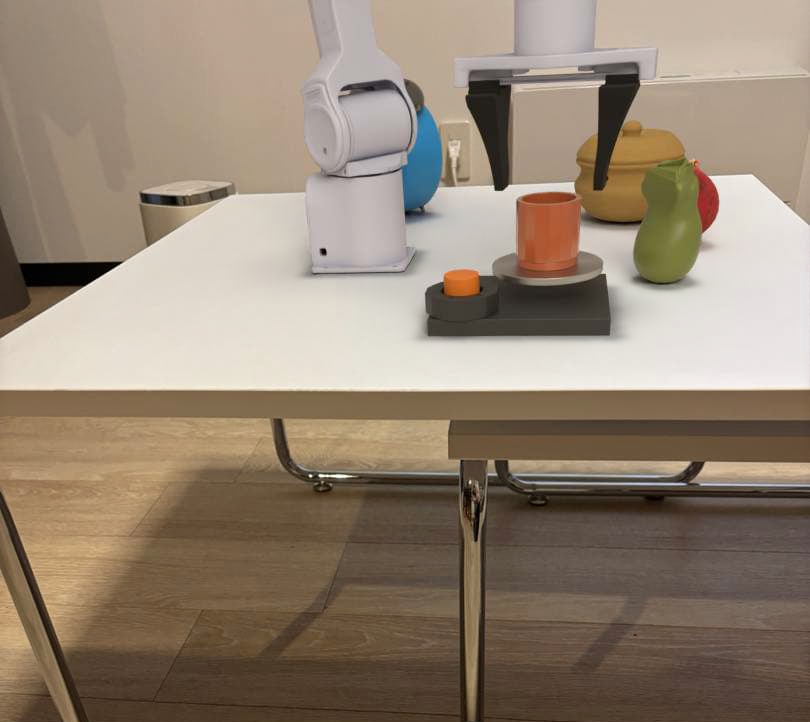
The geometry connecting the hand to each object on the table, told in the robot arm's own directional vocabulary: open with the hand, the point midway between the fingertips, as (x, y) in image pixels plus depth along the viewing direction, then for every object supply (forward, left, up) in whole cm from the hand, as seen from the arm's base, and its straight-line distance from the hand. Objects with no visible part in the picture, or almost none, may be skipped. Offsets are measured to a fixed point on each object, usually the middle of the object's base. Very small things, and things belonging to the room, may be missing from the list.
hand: (549, 188), depth 65 cm
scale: (-2, -2, -9) cm, 10 cm away
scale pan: (0, 0, -6) cm, 6 cm away
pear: (+10, +6, -10) cm, 15 cm away
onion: (+13, +18, -10) cm, 25 cm away
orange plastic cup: (0, 0, -6) cm, 6 cm away
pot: (+8, +31, -10) cm, 34 cm away
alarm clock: (-20, +37, -10) cm, 43 cm away
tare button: (-7, -5, -7) cm, 11 cm away
